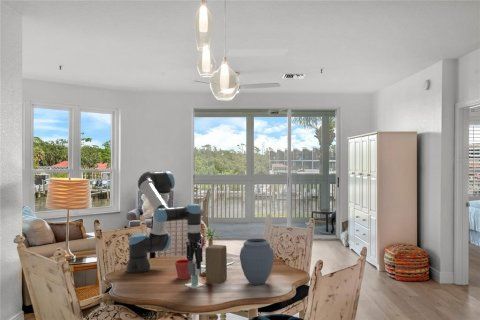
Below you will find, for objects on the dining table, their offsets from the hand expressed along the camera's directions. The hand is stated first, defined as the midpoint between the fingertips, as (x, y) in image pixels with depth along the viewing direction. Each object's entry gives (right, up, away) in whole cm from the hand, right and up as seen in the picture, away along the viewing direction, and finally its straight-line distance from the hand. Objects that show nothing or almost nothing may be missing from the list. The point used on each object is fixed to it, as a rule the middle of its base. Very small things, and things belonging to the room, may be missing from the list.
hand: (194, 273), depth 234 cm
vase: (+35, -7, +3) cm, 36 cm away
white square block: (0, -7, 0) cm, 7 cm away
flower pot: (-8, -7, +18) cm, 21 cm away
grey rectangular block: (0, 0, 0) cm, 0 cm away
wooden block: (+12, -7, +9) cm, 17 cm away
